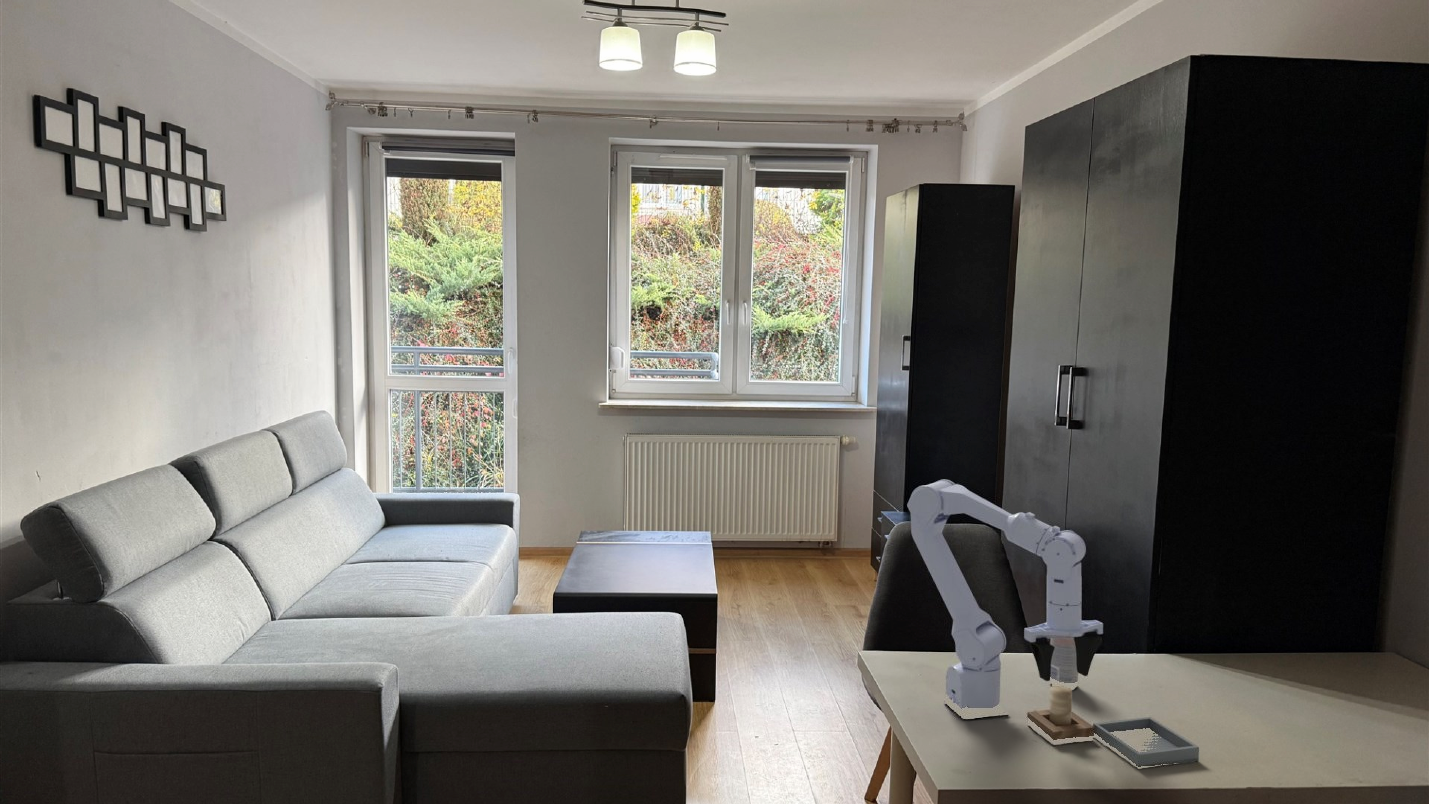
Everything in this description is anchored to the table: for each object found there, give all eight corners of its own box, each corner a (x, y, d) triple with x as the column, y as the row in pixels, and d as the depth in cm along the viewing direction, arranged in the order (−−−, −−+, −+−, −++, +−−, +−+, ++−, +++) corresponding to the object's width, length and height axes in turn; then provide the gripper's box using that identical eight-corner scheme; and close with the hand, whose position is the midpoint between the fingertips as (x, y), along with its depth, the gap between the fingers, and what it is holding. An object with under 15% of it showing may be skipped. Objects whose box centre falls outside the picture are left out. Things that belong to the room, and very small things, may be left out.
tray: (1137, 769, 143) (1138, 754, 143) (1092, 737, 155) (1093, 723, 154) (1198, 761, 146) (1199, 747, 146) (1149, 730, 157) (1150, 716, 157)
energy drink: (1073, 681, 179) (1074, 624, 178) (1081, 692, 174) (1083, 633, 173) (1046, 680, 180) (1047, 623, 178) (1053, 690, 174) (1055, 632, 173)
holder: (1053, 745, 151) (1053, 732, 151) (1027, 725, 159) (1027, 712, 159) (1093, 740, 153) (1094, 727, 153) (1066, 720, 161) (1066, 707, 161)
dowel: (1056, 738, 154) (1058, 694, 153) (1044, 729, 158) (1046, 686, 157) (1075, 736, 155) (1076, 692, 154) (1062, 727, 158) (1064, 684, 158)
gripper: (1041, 612, 149) (1041, 689, 150) (1114, 603, 152) (1114, 680, 153) (1017, 600, 156) (1017, 674, 157) (1088, 592, 159) (1088, 665, 160)
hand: (1063, 676), depth 155 cm, fingers open, 7 cm apart
